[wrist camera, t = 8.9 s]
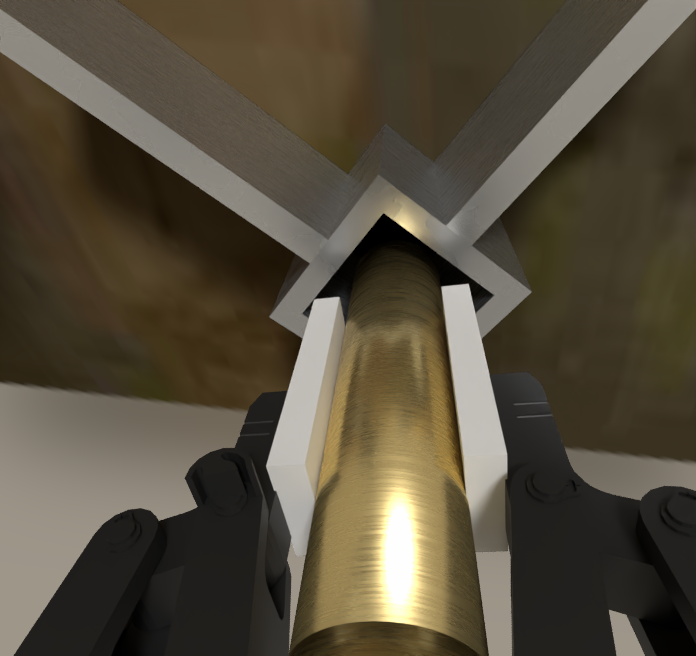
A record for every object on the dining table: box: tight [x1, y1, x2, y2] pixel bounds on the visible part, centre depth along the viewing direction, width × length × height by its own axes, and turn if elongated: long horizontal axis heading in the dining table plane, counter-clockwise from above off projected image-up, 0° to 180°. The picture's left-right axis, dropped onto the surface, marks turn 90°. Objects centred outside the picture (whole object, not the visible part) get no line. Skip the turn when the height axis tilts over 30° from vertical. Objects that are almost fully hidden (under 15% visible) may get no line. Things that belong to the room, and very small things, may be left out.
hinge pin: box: [289, 240, 489, 656], centre depth 13 cm, size 3×3×14 cm
